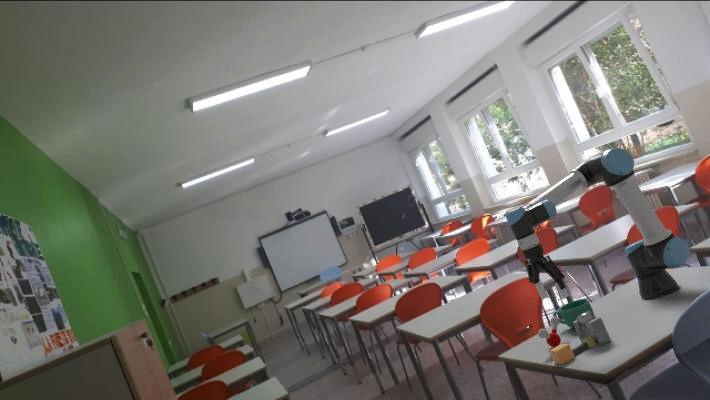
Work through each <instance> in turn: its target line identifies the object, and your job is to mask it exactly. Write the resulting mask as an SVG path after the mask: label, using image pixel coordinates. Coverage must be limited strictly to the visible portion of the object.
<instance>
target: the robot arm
mask: <svg viewBox="0 0 710 400" xmlns="http://www.w3.org/2000/svg"><path fill="white" fill-rule="evenodd" d="M634 168H635V159H634V157H633V155H632V154H631V153H630V152H629V151H628V150H627V149H624V148H621V147H613V148H612V147H611V148H608V149H606V150H603V151H601V152H599V153H596V154H594V155H591V156H590V157H587V158H586V159H585V160H583V161H582V162H581V163H580V164H578V165H577V166H576V167H575V168H573V169H572V170H570V171H569V173H568V176H566V177H565V178H563V179H562V180H559V182H557V183H556V184H554V185H553V186H552V187H550V188H549V189H547V190H546V191H544V192H543V193H541V194H540V195H538V196H537V197H536V198H534V199H532V200H531V201H529V202H528V203H527V204H525V205H523V206H518V207H516V208H514V209H511V210H509V211H507V212H506V213H505V219H506V221H507V224H508V226H509V228H510V230H511V233H512V234H513V235H514V237H515V240H516V242H517V245H519V249H521V251H522V255H523V257H524V259H525V260H524V263H525V266H526V270H527V275H528V281H529V283H532V285H533V284H534V286H535V287H536V290H537V292H538V294H539V296H540V298H541V300H545V299H546V298H548V297H549V295H548V293H547V290H546V289H545V287H544V285H543V284H544V283H543V282H542V281H541V278H540V272H541V271H544V272H545V273H546V274H547V275H548V276H550V277H551V278H552V279H553V281H554V284H555V286H556V288H557V291H558V292H559V294H560V296H561V298H562V300H564V299H566V298H567V297H570V295H569V294H570V293H569V291H568V290H567V288H566V285H565V283H564V282H563V279H564V278H565V274H564V273H563V272H562V271H561V270H560V269H559V267H558V266H557V265H556V264H555V263H554V261H553V260H552V258H551V256H550V255H549V254H547V255H545V256H544V255H543V253H544V252H545V250H544V248H543V246H542V244H541V243H540V239H539V237H538V235H537V233H536V231H535V229H534V228H536V227H537V226H539V225H541V224H543V223H546V222H547V221H550V220H551V219H553V218H554V217H556V216H557V213H558V212H557V211H558V209H557V208H556V207H558V206H559V205H561V204H562V203H564V202H565V201H566V200H568V199H569V198H571V196H573V195H575V194H576V193H577V192H579V191H585V190H586V189H587V188H589V187H591V186H594V185H597V184H600V183H603V182H604V184H605V186H606V187H607V188H608V189H613V191H614V192H615V194H616V195H617V197H618V199H619V201H620V202H621V203H622V206H623V207H624V209H625V210H626V211H627V213H628V215H629V216H630V218H631V219H632V221H633V223H634V224H635V226H636V227H637V229H638V231H639V233H641V236H642V237H643V239H640V240H638V241H637V240H636V241H635V242H633V243H631V244H629V245H627V246H626V247H624V252H625V255H626V258H627V260H628V262H629V264H630V266H631V269H632V270H633V272H634V274H635V277H636V278H637V283H638V284H637V285H638V288H639V289H638V290H639V292H638V294H639V295H640V297H641V299H642V298H643V300H652V299H656V298H660V297H663V296H666V295H669V294H671V293H673V292H675V291H676V290H677V289H679V284H678V283H677V281H676V279H674V278H673V276H672V275H671V274H670V273H669V272H668V271H667V269H675V268H680V267H683V266H684V265H685V264H687V263H688V260H689V258H690V257H689V255H690V248H689V244H688V243H687V241H686V240H685V239H683V238H681V237H677V236H675V234H674V232H673V231H672V230H670V229H668V228H666V227H665V226H664V225H663V223H662V221H661V219H660V218H659V216H658V214H657V213H656V212H655V209H653V207H652V205H651V204H650V202H649V200H648V198H646V196H645V194H644V193H643V191H642V189H641V187H639V184H638V183H637V181H636V180H635V179H634V177H635V174H636V172H635V171H634Z"/></svg>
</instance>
